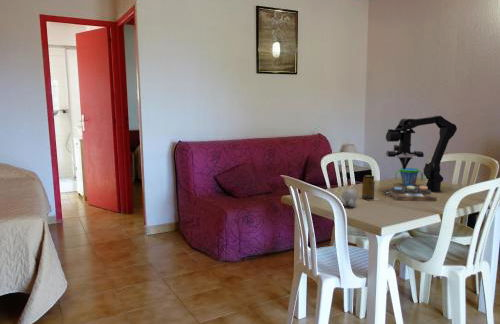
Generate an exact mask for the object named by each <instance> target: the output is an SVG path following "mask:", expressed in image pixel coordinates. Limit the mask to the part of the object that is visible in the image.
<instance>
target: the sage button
mask: <svg viewBox="0 0 500 324" xmlns="http://www.w3.org/2000/svg"><path fill="white" fill-rule="evenodd" d="M406 188H407V190H415V189H416V185H415V186H406Z"/></svg>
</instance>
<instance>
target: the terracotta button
mask: <svg viewBox="0 0 500 324" xmlns="http://www.w3.org/2000/svg"><path fill="white" fill-rule="evenodd" d="M418 188H419V190H428V187H427V186H426V185H419V187H418Z"/></svg>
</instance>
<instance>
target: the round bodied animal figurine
mask: <svg viewBox="0 0 500 324" xmlns="http://www.w3.org/2000/svg"><path fill="white" fill-rule="evenodd" d="M341 198H342V199H341V201H340V203H341V202H342V203H343V206H344V207H348V206H349V207H351V208H355V206H356V204H357V203H356V202H357V200H358V198H359V197H358V193H357V191H356V190H355V189H353V188H346V189H345V190H344V191H342V194H341Z"/></svg>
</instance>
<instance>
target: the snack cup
mask: <svg viewBox="0 0 500 324" xmlns="http://www.w3.org/2000/svg"><path fill="white" fill-rule="evenodd" d="M398 172H399V173H400V177H401V185H402V186H403V187H407V186H415V187H416V183H417V180H418V179H417V178H418V174H419V173H421V179H420V181H423V180H424V173H423V172H422V171H421V170H419V168H414V167H406V168H405V169H403V167H402V168H400V169H398V170H397V171H396V172H395V180H397V178H398V177H397V174H398Z"/></svg>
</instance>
